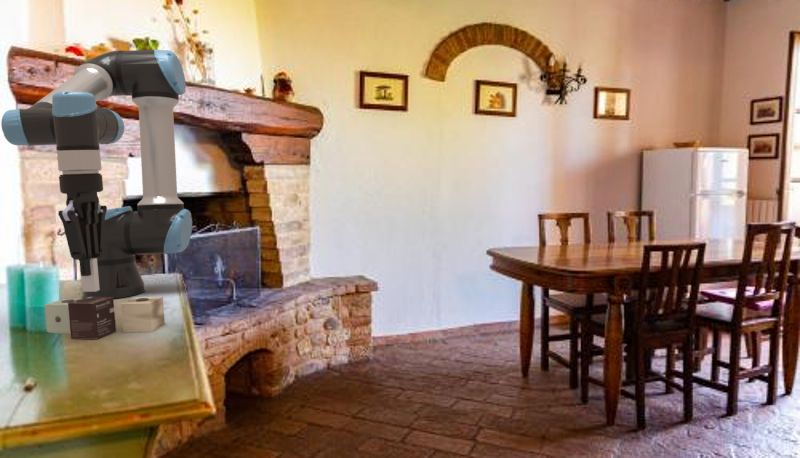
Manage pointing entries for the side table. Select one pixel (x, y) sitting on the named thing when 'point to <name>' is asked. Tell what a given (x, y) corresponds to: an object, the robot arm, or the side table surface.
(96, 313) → the box
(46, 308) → the sage block partly covered
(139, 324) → the beech block marked
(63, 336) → the side table surface
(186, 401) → the side table surface
